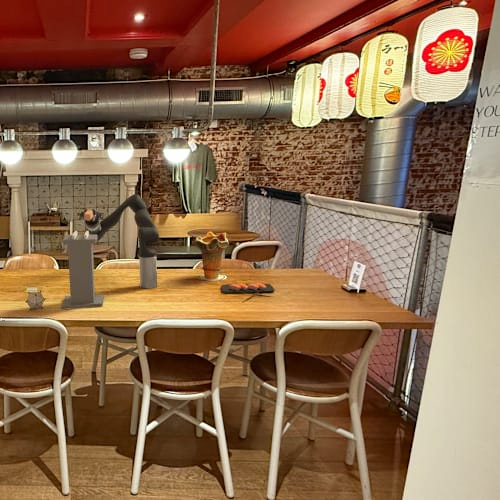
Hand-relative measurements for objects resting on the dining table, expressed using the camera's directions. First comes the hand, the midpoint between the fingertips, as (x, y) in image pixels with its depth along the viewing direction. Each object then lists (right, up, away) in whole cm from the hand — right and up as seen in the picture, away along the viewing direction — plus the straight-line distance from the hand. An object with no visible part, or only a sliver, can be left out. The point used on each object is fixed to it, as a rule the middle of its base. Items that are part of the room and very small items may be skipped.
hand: (89, 210), depth 226 cm
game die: (-11, -49, -36) cm, 61 cm away
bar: (+2, -4, -5) cm, 7 cm away
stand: (+7, -47, -24) cm, 53 cm away
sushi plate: (+88, -46, -3) cm, 99 cm away
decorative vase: (+64, -39, +29) cm, 81 cm away
